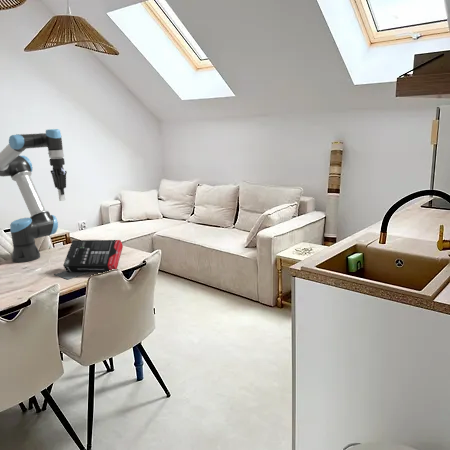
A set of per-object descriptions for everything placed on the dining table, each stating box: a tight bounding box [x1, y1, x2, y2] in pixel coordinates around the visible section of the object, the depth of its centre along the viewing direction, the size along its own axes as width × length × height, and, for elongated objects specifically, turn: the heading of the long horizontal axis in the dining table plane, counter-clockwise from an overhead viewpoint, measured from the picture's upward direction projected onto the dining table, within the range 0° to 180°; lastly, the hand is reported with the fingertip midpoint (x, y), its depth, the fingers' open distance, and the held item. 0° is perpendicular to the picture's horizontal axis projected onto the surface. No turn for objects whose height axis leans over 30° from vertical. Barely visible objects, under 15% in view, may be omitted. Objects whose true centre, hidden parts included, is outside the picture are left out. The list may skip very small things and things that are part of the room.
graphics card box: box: [63, 239, 124, 273], centre depth 223 cm, size 17×7×27 cm
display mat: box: [54, 269, 91, 281], centre depth 223 cm, size 13×21×1 cm, turn 141°
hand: (62, 200), depth 238 cm, fingers closed
